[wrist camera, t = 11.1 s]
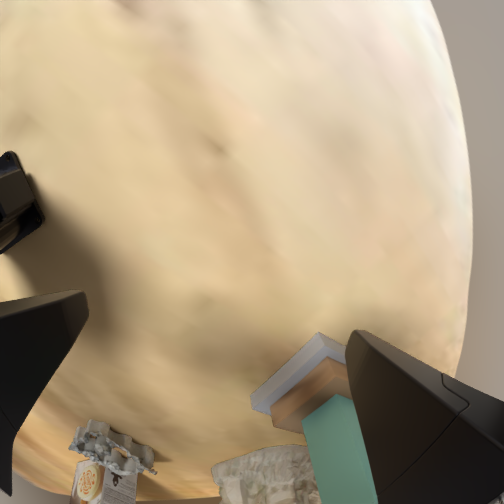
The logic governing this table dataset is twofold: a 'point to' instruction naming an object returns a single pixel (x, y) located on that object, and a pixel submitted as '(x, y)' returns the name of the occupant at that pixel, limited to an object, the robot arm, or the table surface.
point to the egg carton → (109, 457)
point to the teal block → (339, 454)
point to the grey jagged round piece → (268, 477)
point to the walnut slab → (310, 394)
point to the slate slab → (296, 370)
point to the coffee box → (102, 485)
